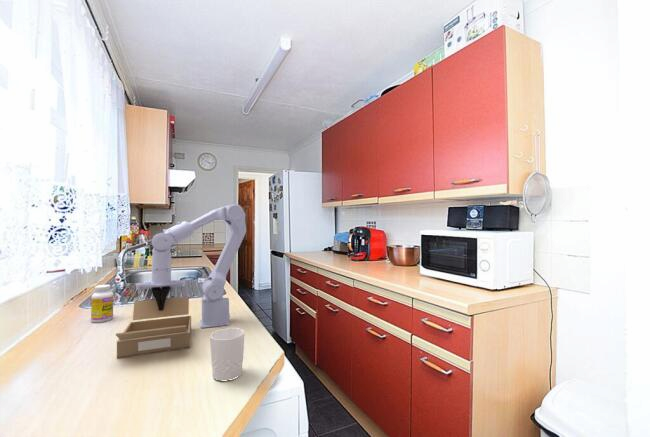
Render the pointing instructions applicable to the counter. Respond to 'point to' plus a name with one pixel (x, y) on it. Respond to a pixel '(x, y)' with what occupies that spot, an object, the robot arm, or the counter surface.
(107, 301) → the supplement bottle
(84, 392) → the counter surface
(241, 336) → the white cup
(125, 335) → the near flap
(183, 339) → the carton
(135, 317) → the far flap
